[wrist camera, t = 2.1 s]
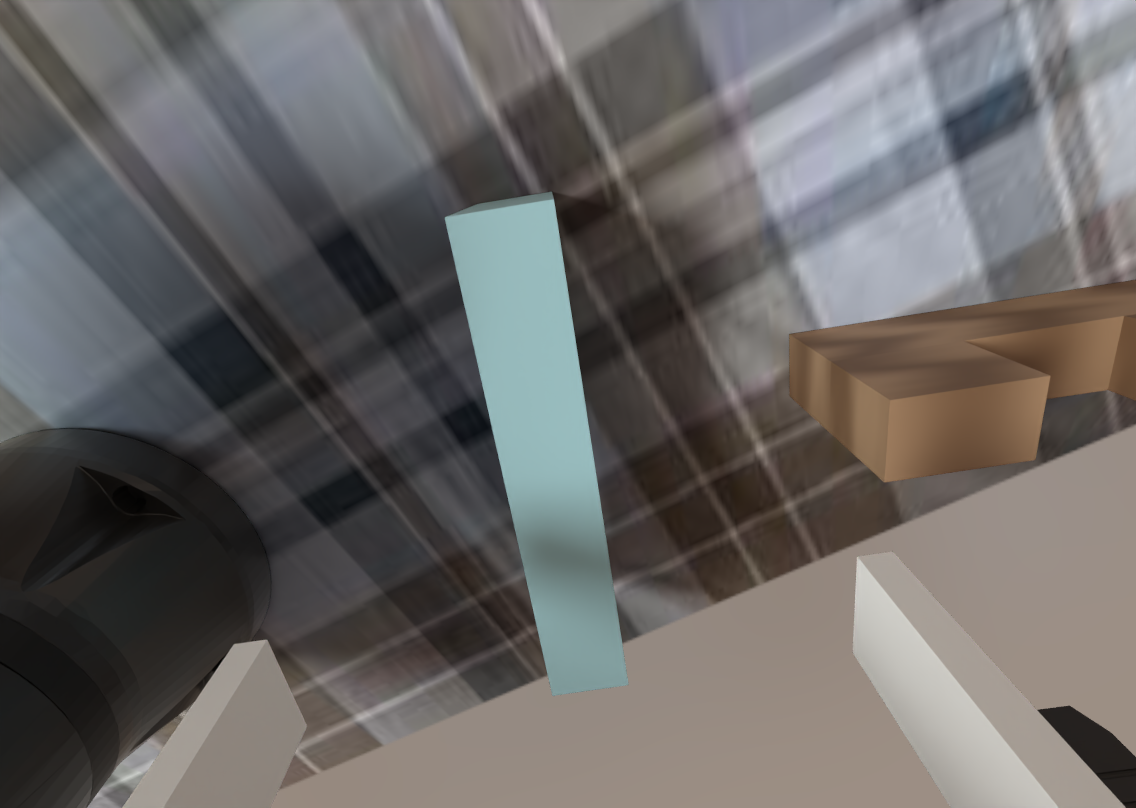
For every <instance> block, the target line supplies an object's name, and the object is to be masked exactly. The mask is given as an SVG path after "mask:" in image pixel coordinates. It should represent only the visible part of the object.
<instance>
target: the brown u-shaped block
mask: <svg viewBox="0 0 1136 808" xmlns="http://www.w3.org/2000/svg"><path fill="white" fill-rule="evenodd" d="M789 371H790V397H791V398H792V399H793V400H794V401H796V402H797V403H798V404H799V405H800V406H801V407H802V408H803V409H804V410H805V411H807V412H808V413H809V414H810V415H811V416H812V417H813V418H814V419H815V420H816V421H818V422H819V423H820V424H821V425H822V426H823V427H824V428H825V429H826V430H827V431H829V432H830V433H831V434H832V435H833V436H834V437H835V438H836V439H837V440H838V441H840V442H841V443H842V444H843V445H844V446H845V447H846V448H847V449H848V450H849V451H850V452H852V453H853V454H854V455H855V456H856V457H857V458H858V459H859V460H860V461H861V462H863V463H864V464H865V465H866V466H867V467H868V468H869V469H870V470H871V471H872V472H874V473H875V474H876V475H877V476H878V477H879V478H880V479H881V480H882V481H883V482H891V481H898V480H904V479H911V478H918V477H925V476H931V475H938V474H945V473H951V472H958V471H965V470H971V469H978V468H985V467H991V466H998V465H1005V464H1012V463H1018V462H1025V461H1032V460H1035V459H1036V454H1037V448H1038V443H1039V437H1040V431H1041V426H1042V420H1043V415H1044V409H1045V404H1046V399H1051V398H1057V397H1064V396H1070V395H1077V394H1084V393H1090V392H1097V391H1103V390H1109V391H1112V392H1115V393H1117V394H1120V395H1123V396H1125V397H1128V398H1130V399H1133V400H1136V280H1131V281H1125V282H1119V283H1112V284H1106V285H1099V286H1093V287H1087V288H1080V289H1074V290H1068V291H1061V292H1055V293H1049V294H1042V295H1036V296H1029V297H1023V298H1017V299H1010V300H1004V301H998V302H991V303H985V304H979V305H972V306H966V307H959V308H953V309H947V310H940V311H934V312H928V313H921V314H915V315H909V316H902V317H896V318H889V319H883V320H877V321H870V322H864V323H858V324H851V325H845V326H839V327H832V328H826V329H819V330H813V331H807V332H800V333H794V334H789Z"/></svg>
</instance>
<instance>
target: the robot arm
mask: <svg viewBox="0 0 1136 808" xmlns="http://www.w3.org/2000/svg"><path fill="white" fill-rule="evenodd" d="M270 595H271V577H270V569H269V564H268V560H267V557H266V553H265V551H264V548H263V546H262V543H261V541H260V539H259V537H258V535H257V533H256V531H255V530H254V528H253V526H252V524H251V523H250V522H249V520H248V519H247V517H246V516H245V514H244V513H243V512H242V511H241V509H240V508H239V507H238V506H237V505H236V503H235V502H234V501H233V500H232V499H231V498H230V497H229V496H228V495H227V494H226V493H225V492H224V491H223V490H222V489H221V488H220V487H219V486H217V485H216V484H215V483H214V482H213V481H211V480H210V479H209V478H208V477H206V476H205V475H204V474H202V473H201V472H199V471H198V470H196V469H195V468H194V467H192V466H190V465H189V464H187V463H185V462H184V461H182V460H180V459H179V458H177V457H175V456H173V455H171V454H169V453H167V452H165V451H163V450H160V449H158V448H156V447H153V446H151V445H148V444H146V443H143V442H140V441H137V440H134V439H131V438H127V437H124V436H120V435H116V434H111V433H106V432H100V431H93V430H82V429H54V430H44V431H38V432H32V433H28V434H24V435H20V436H17V437H14V438H11V439H9V440H6V441H4V442H2V443H0V808H87V807H88V805H89V804H90V803H91V801H92V800H93V798H94V797H95V796H96V794H97V793H98V792H99V790H100V789H101V788H102V786H103V785H104V783H105V782H106V781H107V779H108V778H109V777H110V776H111V774H112V773H113V771H114V770H115V769H116V767H117V766H118V765H119V764H120V763H121V762H122V761H123V760H124V759H125V758H126V757H128V756H129V755H130V754H131V753H133V752H134V751H135V750H136V749H137V748H139V747H140V746H141V745H142V744H144V743H145V742H146V741H147V740H148V739H150V738H151V737H152V736H153V735H155V734H156V733H157V732H158V731H160V730H161V729H162V728H163V727H164V726H166V725H167V724H168V723H169V722H171V721H172V720H173V719H174V718H175V717H177V716H178V715H179V714H180V713H182V712H183V711H184V710H185V709H186V708H188V707H189V706H190V705H191V704H192V703H193V705H192V706H191V708H190V709H189V711H188V712H187V714H186V715H185V717H184V718H183V720H182V721H181V723H180V724H179V725H178V727H177V728H176V730H175V731H174V733H173V734H172V736H171V737H170V739H169V740H168V742H167V743H166V745H165V746H164V747H163V749H162V750H161V752H160V753H159V755H158V756H157V758H156V759H155V761H154V762H153V764H152V765H151V766H150V768H149V769H148V771H147V772H146V774H145V775H144V777H143V778H142V780H141V781H140V783H139V784H138V786H137V787H136V788H135V790H134V791H133V793H132V794H131V796H130V797H129V799H128V800H127V802H126V803H125V805H124V806H123V808H271V806H272V803H273V801H274V799H275V797H276V795H277V792H278V790H279V788H280V786H281V783H282V781H283V779H284V777H285V774H286V772H287V770H288V768H289V766H290V763H291V761H292V759H293V757H294V754H295V752H296V750H297V748H298V745H299V743H300V741H301V739H302V736H303V734H304V732H305V730H306V728H307V725H306V723H305V721H304V718H303V716H302V714H301V712H300V710H299V708H298V705H297V703H296V701H295V699H294V697H293V695H292V692H291V690H290V688H289V686H288V684H287V682H286V679H285V677H284V675H283V673H282V671H281V668H280V666H279V664H278V662H277V660H276V658H275V655H274V653H273V651H272V649H271V647H270V645H269V642H268V640H260V641H253V642H251V641H252V639H253V637H254V636H255V634H256V633H257V631H258V630H259V628H260V626H261V624H262V622H263V620H264V618H265V616H266V613H267V610H268V606H269V601H270ZM853 654H854V655H855V657H856V659H857V660H858V662H859V663H860V665H861V666H862V668H863V670H864V671H865V673H866V674H867V676H868V677H869V679H870V681H871V682H872V684H873V685H874V687H875V689H876V690H877V692H878V694H879V695H880V696H881V698H882V700H883V701H884V703H885V705H886V706H887V708H888V709H889V711H890V712H891V714H892V716H893V717H894V719H895V720H896V722H897V724H898V725H899V727H900V728H901V730H902V732H903V733H904V735H905V736H906V738H907V739H908V741H909V742H910V744H911V746H912V747H913V749H914V751H915V752H916V754H917V755H918V757H919V758H920V760H921V762H922V763H923V765H924V766H925V768H926V770H927V771H928V773H929V774H930V776H931V778H932V779H933V781H934V782H935V784H936V785H937V787H938V789H939V790H940V792H941V793H942V795H943V797H944V798H945V800H946V801H947V803H948V804H949V806H950V807H951V808H1136V757H1135V756H1134V755H1133V754H1132V753H1131V752H1130V751H1129V750H1128V749H1127V748H1126V747H1125V746H1124V745H1123V744H1122V743H1121V742H1120V741H1119V740H1118V739H1117V738H1116V737H1115V736H1114V735H1113V734H1112V733H1110V732H1109V731H1108V730H1106V729H1105V728H1103V727H1102V726H1100V725H1099V724H1097V723H1095V722H1094V721H1092V720H1091V719H1089V718H1088V717H1086V716H1084V715H1083V714H1082V713H1080V712H1078V711H1077V710H1075V709H1074V708H1072V707H1071V706H1064V707H1056V708H1048V709H1040V710H1037V709H1036V708H1035V707H1034V706H1033V705H1032V704H1031V703H1030V702H1029V701H1028V700H1027V699H1026V697H1025V696H1024V695H1023V694H1022V693H1021V692H1020V691H1019V690H1018V689H1017V687H1016V686H1015V685H1014V684H1013V683H1012V682H1011V681H1010V680H1009V679H1008V678H1007V676H1006V675H1005V674H1004V673H1003V672H1002V671H1001V670H1000V669H999V668H998V667H997V665H996V664H995V663H994V662H993V661H992V660H991V659H990V658H989V657H988V656H987V654H985V652H984V651H983V650H982V649H981V648H980V647H979V646H978V645H977V644H976V642H975V641H974V640H973V639H972V638H971V637H970V636H969V635H968V634H967V632H965V630H964V629H963V628H962V627H961V626H960V625H959V624H958V623H957V621H956V620H955V619H954V618H953V617H952V616H951V615H950V614H949V613H948V612H947V610H946V609H945V608H944V607H943V606H942V605H941V604H940V603H939V602H938V601H937V599H935V597H934V596H933V595H932V594H931V593H930V592H929V591H928V590H927V588H926V587H925V586H924V585H923V584H922V583H921V582H920V581H919V580H918V578H917V577H916V576H915V575H914V574H913V573H912V572H911V571H910V570H909V569H908V567H907V566H906V565H905V564H904V563H903V562H902V561H901V560H900V559H899V558H898V557H897V555H896V554H895V553H894V552H893V551H892V552H885V553H878V554H871V555H864V556H857V570H856V591H855V612H854V634H853Z"/></svg>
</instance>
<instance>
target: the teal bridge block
mask: <svg viewBox="0 0 1136 808" xmlns="http://www.w3.org/2000/svg"><path fill="white" fill-rule="evenodd" d="M445 222H446V226H447V230H448V235H449V239H450V244H451V248H452V253H453V257H454V261H455V266H456V270H457V275H458V279H459V284H460V288H461V292H462V297H463V301H464V306H465V310H466V315H467V319H468V323H469V328H470V332H471V337H472V341H473V346H474V350H475V355H476V359H477V363H478V368H479V372H480V377H481V381H482V386H483V390H484V394H485V399H486V403H487V408H488V412H489V417H490V421H491V425H492V430H493V434H494V439H495V443H496V448H497V452H498V456H499V461H500V465H501V470H502V474H503V479H504V483H505V488H506V492H507V496H508V501H509V505H510V510H511V514H512V519H513V523H514V527H515V532H516V536H517V541H518V545H519V550H520V554H521V558H522V563H523V567H524V572H525V576H526V581H527V585H528V589H529V594H530V598H531V603H532V607H533V612H534V616H535V621H536V625H537V629H538V634H539V638H540V643H541V647H542V652H543V656H544V660H545V665H546V669H547V674H548V678H549V683H550V687H551V691H552V695H553V696H555V695H562V694H568V693H576V692H583V691H590V690H596V689H604V688H611V687H617V686H624V685H628V678H627V672H626V665H625V659H624V652H623V646H622V639H621V633H620V626H619V620H618V613H617V607H616V600H615V594H614V587H613V581H612V574H611V568H610V561H609V555H608V548H607V542H606V535H605V529H604V522H603V516H602V509H601V503H600V496H599V490H598V483H597V477H596V470H595V464H594V457H593V451H592V444H591V438H590V431H589V425H588V418H587V412H586V405H585V399H584V392H583V386H582V379H581V373H580V366H579V360H578V353H577V347H576V340H575V334H574V327H573V321H572V314H571V308H570V301H569V295H568V288H567V282H566V275H565V269H564V262H563V256H562V249H561V243H560V236H559V230H558V223H557V217H556V210H555V204H554V198H553V195H552V192H546V193H540V194H534V195H528V196H522V197H516V198H510V199H504V200H498V201H492V202H486V203H480V204H476V205H474V206H471V207H469V208H466V209H464V210H461V211H459V212H456V213H454V214H451V215H449V216H447V217H445Z"/></svg>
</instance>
